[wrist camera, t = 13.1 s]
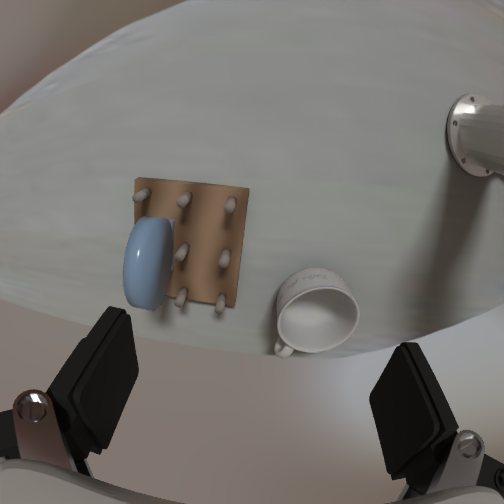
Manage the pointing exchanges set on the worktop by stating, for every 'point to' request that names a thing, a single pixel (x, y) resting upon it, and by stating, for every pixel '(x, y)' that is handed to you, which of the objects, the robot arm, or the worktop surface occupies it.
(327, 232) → the worktop surface
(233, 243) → the dish rack
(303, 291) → the teacup
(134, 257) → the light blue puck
